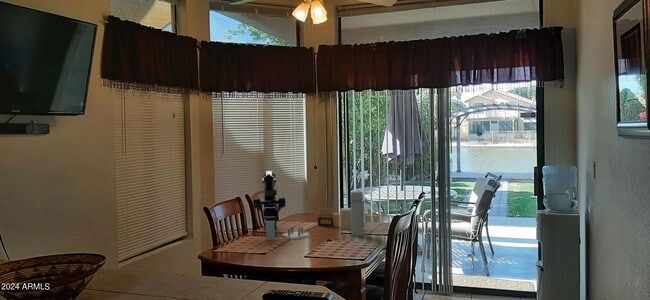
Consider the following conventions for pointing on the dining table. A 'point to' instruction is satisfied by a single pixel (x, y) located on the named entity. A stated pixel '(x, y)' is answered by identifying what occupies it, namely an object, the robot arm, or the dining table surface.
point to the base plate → (295, 234)
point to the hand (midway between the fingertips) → (269, 214)
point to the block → (270, 230)
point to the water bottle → (357, 213)
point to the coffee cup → (345, 218)
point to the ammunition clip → (325, 217)
